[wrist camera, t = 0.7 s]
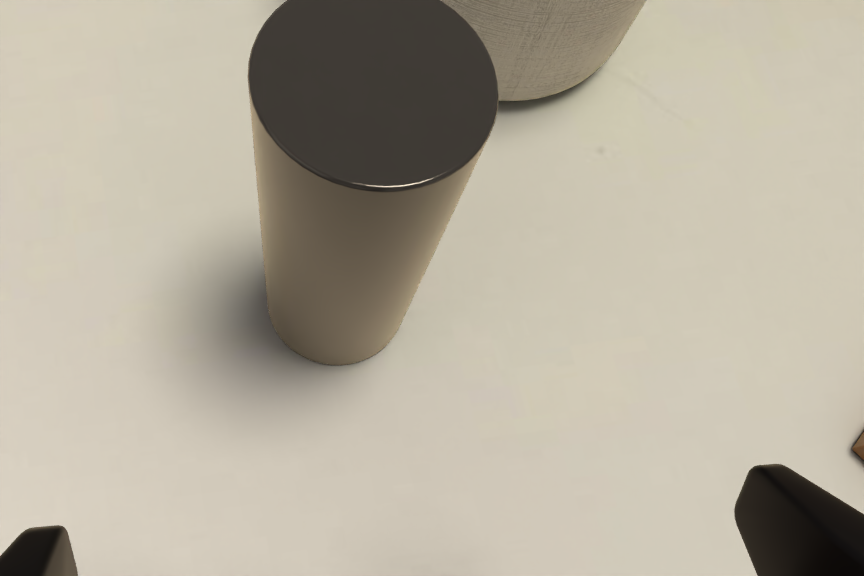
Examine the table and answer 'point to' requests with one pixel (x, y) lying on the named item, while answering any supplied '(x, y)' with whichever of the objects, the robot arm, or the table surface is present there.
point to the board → (859, 446)
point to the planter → (546, 40)
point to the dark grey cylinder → (360, 160)
